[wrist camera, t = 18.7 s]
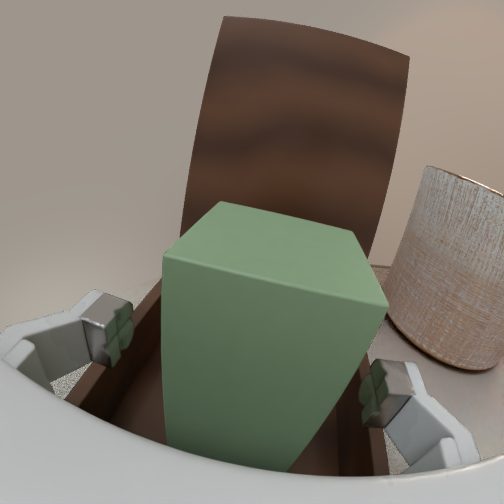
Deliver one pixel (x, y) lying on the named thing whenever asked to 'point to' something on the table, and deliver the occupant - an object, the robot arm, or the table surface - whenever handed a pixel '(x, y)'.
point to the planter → (451, 272)
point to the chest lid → (297, 125)
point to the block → (261, 332)
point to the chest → (152, 406)
